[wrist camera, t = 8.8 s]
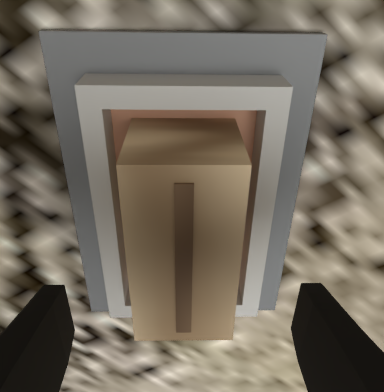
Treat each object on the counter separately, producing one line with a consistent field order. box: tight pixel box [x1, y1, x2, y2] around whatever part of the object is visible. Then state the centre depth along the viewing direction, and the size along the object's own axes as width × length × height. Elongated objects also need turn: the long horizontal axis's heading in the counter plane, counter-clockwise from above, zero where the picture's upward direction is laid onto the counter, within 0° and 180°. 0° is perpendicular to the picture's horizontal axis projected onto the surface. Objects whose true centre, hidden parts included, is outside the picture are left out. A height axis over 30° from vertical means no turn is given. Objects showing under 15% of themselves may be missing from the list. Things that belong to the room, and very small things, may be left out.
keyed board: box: [39, 30, 327, 318], centre depth 16 cm, size 14×10×2 cm
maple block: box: [116, 118, 252, 341], centre depth 15 cm, size 4×8×4 cm, turn 179°
